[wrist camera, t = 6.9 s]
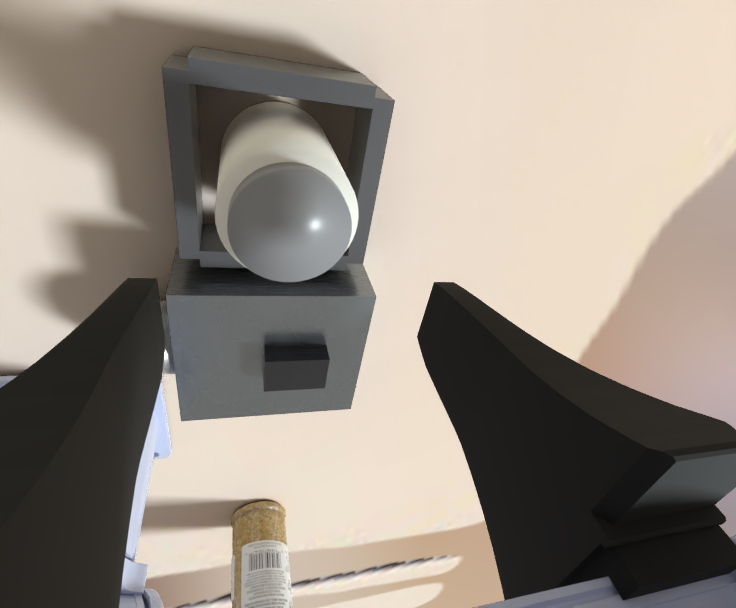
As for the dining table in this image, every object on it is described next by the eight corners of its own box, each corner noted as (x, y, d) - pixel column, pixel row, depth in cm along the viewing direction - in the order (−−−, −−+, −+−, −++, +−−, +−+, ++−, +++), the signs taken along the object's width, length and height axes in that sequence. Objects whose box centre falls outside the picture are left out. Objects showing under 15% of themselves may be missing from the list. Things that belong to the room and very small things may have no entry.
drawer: (150, 367, 24) (134, 440, 21) (130, 244, 20) (103, 310, 16) (338, 359, 28) (354, 423, 24) (358, 252, 23) (381, 309, 19)
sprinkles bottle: (222, 524, 37) (215, 742, 26) (246, 495, 35) (249, 717, 24) (270, 528, 39) (281, 730, 29) (295, 501, 37) (317, 707, 27)
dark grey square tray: (187, 256, 21) (182, 285, 19) (170, 42, 16) (160, 52, 14) (348, 261, 23) (358, 287, 21) (380, 76, 18) (397, 89, 16)
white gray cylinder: (221, 204, 20) (214, 289, 15) (220, 92, 17) (212, 147, 12) (323, 213, 21) (350, 293, 16) (338, 111, 18) (376, 167, 13)
